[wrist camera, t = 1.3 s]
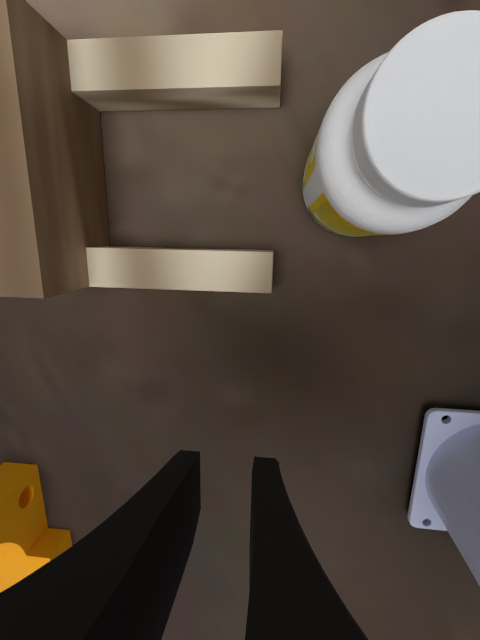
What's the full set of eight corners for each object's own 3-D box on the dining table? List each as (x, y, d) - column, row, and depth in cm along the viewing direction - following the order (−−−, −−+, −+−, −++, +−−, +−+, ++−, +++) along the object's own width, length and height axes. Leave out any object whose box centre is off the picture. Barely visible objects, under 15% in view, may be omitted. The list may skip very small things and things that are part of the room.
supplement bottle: (417, 220, 17) (590, 198, 8) (313, 248, 18) (353, 259, 9) (400, 108, 16) (577, -79, 7) (290, 144, 17) (307, 25, 7)
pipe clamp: (81, 594, 27) (20, 703, 20) (31, 588, 27) (-43, 693, 21) (61, 464, 24) (-16, 546, 17) (5, 460, 24) (-89, 538, 18)
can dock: (281, 61, 16) (283, -39, 10) (272, 286, 19) (269, 307, 13) (51, 69, 17) (-63, -16, 12) (72, 279, 20) (-11, 296, 14)
